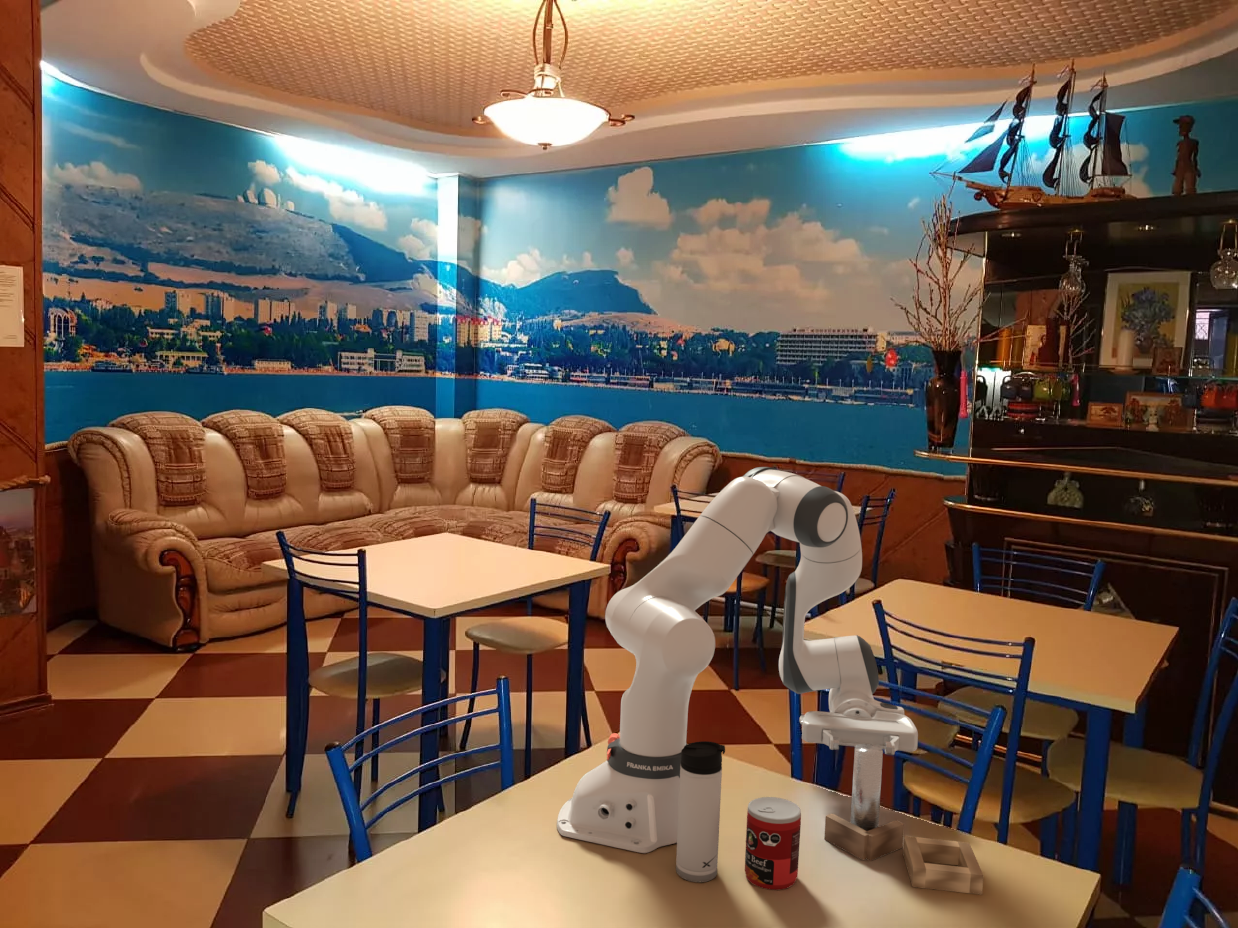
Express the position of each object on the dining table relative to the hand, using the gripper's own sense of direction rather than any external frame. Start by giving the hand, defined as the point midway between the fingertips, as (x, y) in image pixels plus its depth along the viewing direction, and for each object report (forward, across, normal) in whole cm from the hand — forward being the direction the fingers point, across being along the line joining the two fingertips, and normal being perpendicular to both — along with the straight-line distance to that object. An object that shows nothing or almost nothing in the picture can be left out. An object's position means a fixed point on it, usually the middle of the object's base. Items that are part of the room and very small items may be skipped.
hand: (862, 747), depth 163 cm
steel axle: (+11, 0, +12) cm, 16 cm away
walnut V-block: (+12, 0, +12) cm, 17 cm away
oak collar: (+17, +11, +12) cm, 24 cm away
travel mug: (+26, -26, +12) cm, 38 cm away
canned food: (+24, -15, +12) cm, 31 cm away
